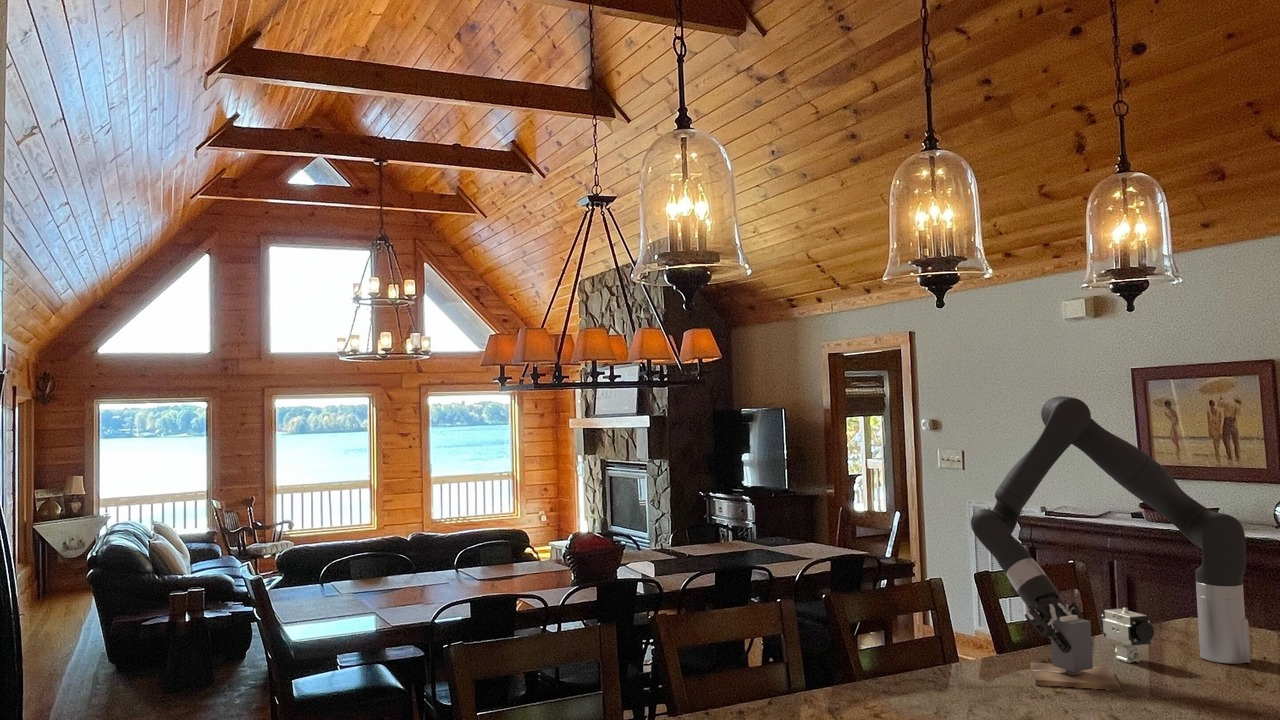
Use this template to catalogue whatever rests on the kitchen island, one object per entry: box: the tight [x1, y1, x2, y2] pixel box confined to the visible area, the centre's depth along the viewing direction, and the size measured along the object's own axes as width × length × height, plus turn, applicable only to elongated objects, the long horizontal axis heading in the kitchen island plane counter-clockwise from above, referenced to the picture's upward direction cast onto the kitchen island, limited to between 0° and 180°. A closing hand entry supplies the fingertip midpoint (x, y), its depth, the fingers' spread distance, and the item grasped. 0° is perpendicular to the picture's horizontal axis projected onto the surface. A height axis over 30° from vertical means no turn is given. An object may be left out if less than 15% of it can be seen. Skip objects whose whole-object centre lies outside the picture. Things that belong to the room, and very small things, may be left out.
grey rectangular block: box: [1050, 615, 1094, 672], centre depth 199 cm, size 6×6×11 cm
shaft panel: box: [1030, 661, 1121, 691], centre depth 198 cm, size 16×14×6 cm
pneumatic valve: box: [1099, 607, 1155, 664], centre depth 211 cm, size 6×12×12 cm, turn 15°
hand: (1078, 648), depth 197 cm, fingers closed on grey rectangular block, 5 cm apart
